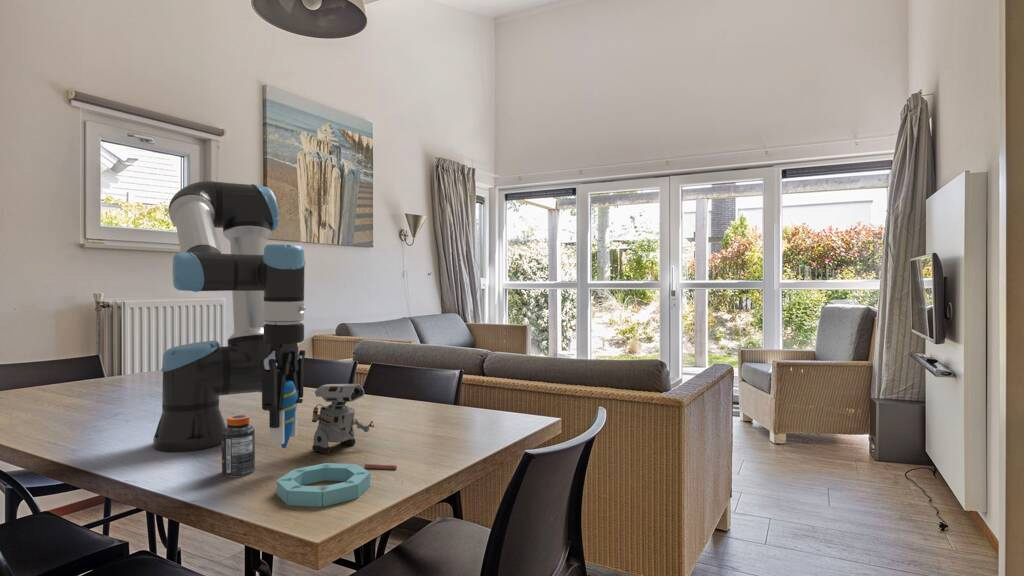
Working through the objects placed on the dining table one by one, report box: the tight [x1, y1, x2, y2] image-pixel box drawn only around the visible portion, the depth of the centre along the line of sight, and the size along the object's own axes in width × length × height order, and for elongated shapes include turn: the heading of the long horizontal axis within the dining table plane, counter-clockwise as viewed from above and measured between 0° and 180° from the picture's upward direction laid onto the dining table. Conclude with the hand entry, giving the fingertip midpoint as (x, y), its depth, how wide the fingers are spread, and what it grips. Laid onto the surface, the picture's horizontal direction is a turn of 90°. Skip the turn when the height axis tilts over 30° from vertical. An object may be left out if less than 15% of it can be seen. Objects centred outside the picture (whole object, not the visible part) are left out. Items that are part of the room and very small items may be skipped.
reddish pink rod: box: [363, 463, 398, 470], centre depth 117 cm, size 7×1×1 cm, turn 83°
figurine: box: [311, 383, 375, 455], centre depth 130 cm, size 9×12×15 cm
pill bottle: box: [221, 414, 256, 478], centre depth 114 cm, size 6×6×11 cm
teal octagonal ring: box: [276, 462, 371, 508], centre depth 105 cm, size 15×15×2 cm
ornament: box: [280, 378, 298, 449], centre depth 114 cm, size 5×5×15 cm
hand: (283, 439), depth 115 cm, fingers closed on ornament, 4 cm apart
